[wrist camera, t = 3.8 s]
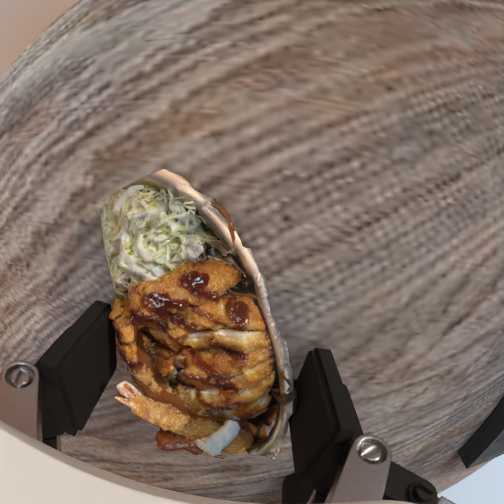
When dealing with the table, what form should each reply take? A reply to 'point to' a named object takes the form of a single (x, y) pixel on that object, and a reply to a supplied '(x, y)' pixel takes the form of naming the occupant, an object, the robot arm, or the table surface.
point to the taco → (194, 322)
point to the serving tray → (486, 440)
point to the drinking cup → (295, 491)
